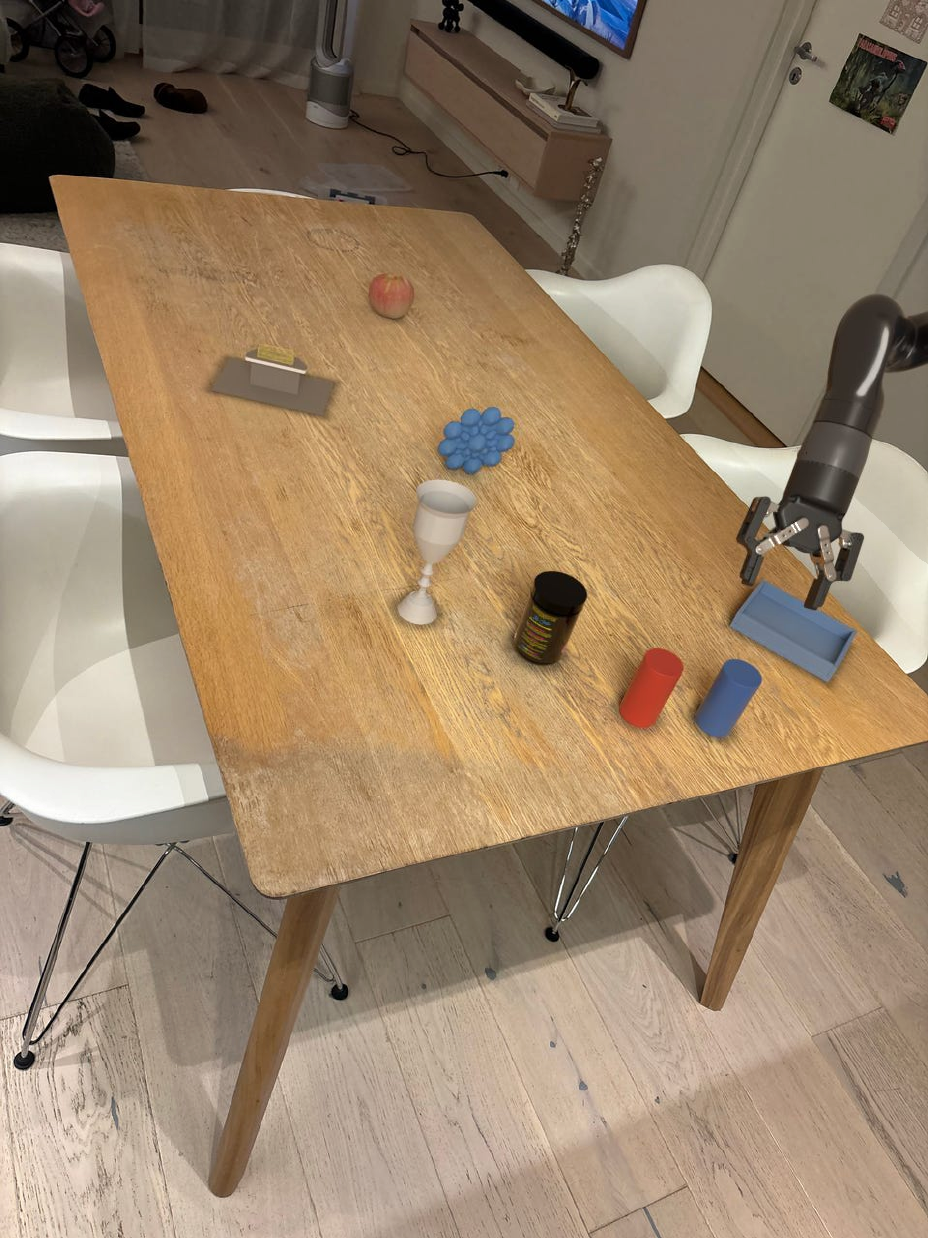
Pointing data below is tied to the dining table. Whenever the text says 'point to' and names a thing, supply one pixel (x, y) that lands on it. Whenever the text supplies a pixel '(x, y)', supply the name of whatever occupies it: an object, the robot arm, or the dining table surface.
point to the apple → (391, 295)
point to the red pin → (651, 687)
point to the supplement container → (549, 617)
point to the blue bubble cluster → (476, 440)
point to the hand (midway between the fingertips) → (778, 597)
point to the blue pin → (727, 697)
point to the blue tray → (794, 630)
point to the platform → (274, 381)
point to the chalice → (435, 538)
